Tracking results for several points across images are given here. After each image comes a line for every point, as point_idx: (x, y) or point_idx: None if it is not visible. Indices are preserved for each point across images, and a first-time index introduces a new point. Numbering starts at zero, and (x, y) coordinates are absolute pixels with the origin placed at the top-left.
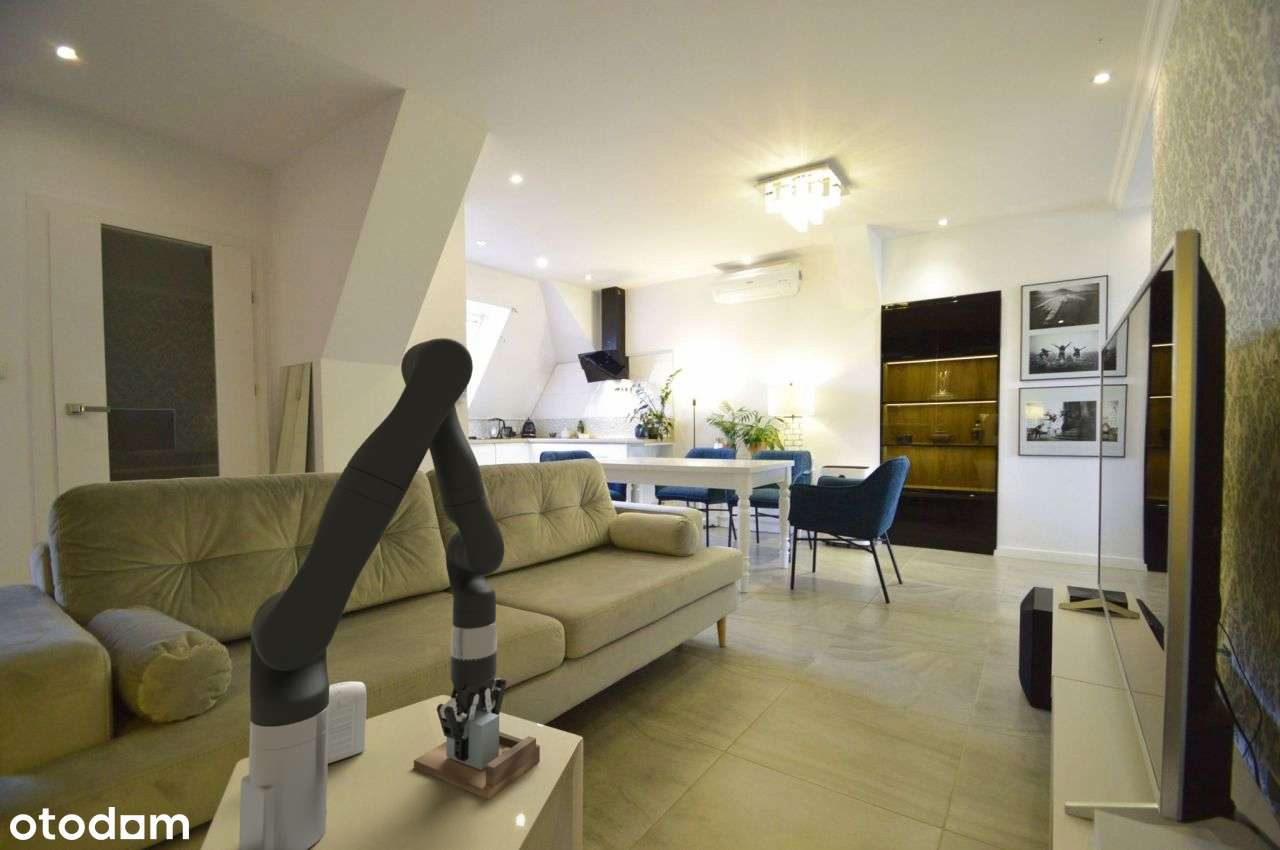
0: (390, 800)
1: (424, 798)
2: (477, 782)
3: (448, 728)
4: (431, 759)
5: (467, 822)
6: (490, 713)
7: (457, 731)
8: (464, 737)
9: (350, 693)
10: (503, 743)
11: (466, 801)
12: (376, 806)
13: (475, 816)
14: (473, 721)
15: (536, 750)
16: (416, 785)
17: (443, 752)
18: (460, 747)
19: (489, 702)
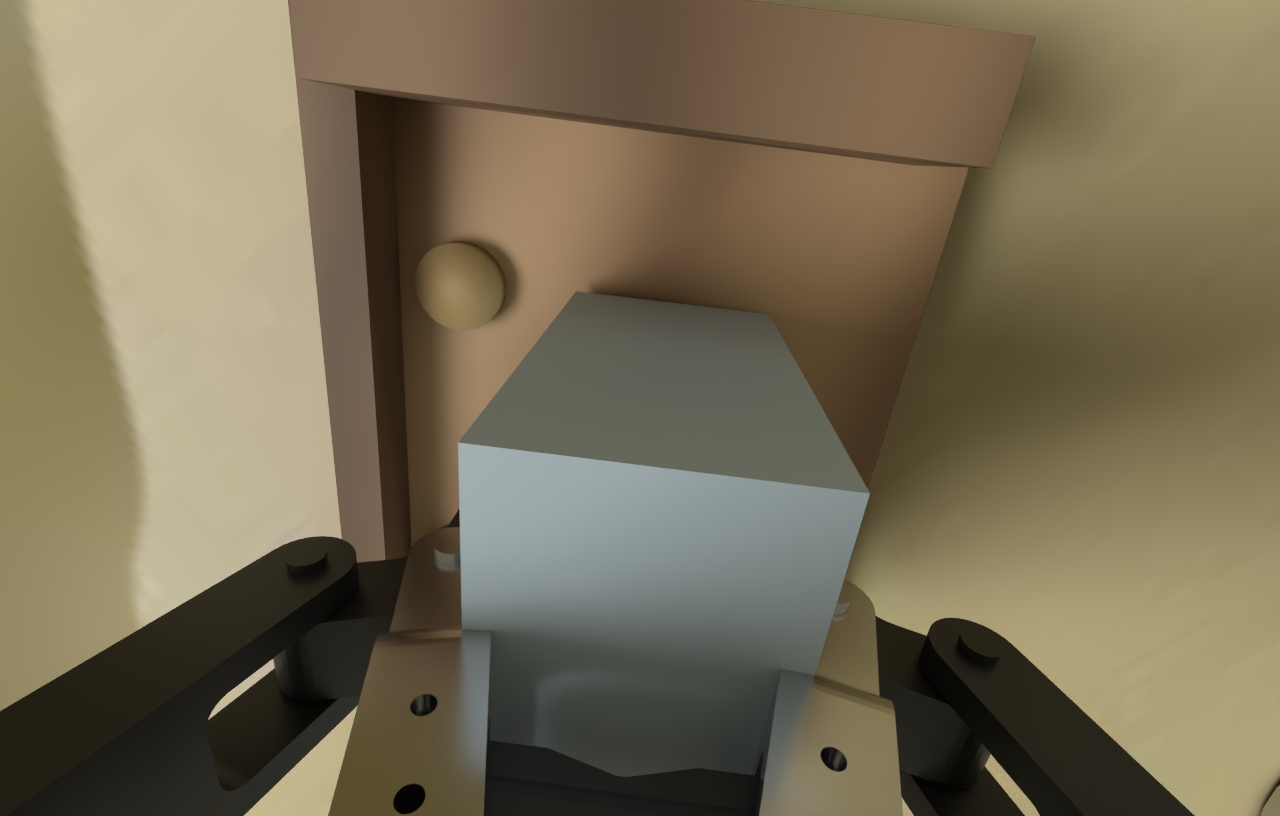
0: (1080, 628)
1: (1033, 491)
2: (899, 250)
3: (961, 802)
4: None
5: (1267, 47)
6: (478, 590)
7: (1007, 695)
8: (845, 590)
9: None
10: (399, 382)
11: (1017, 230)
12: (1141, 653)
13: (1188, 36)
14: (784, 662)
15: None
16: (924, 599)
17: None
18: None
19: (393, 758)
